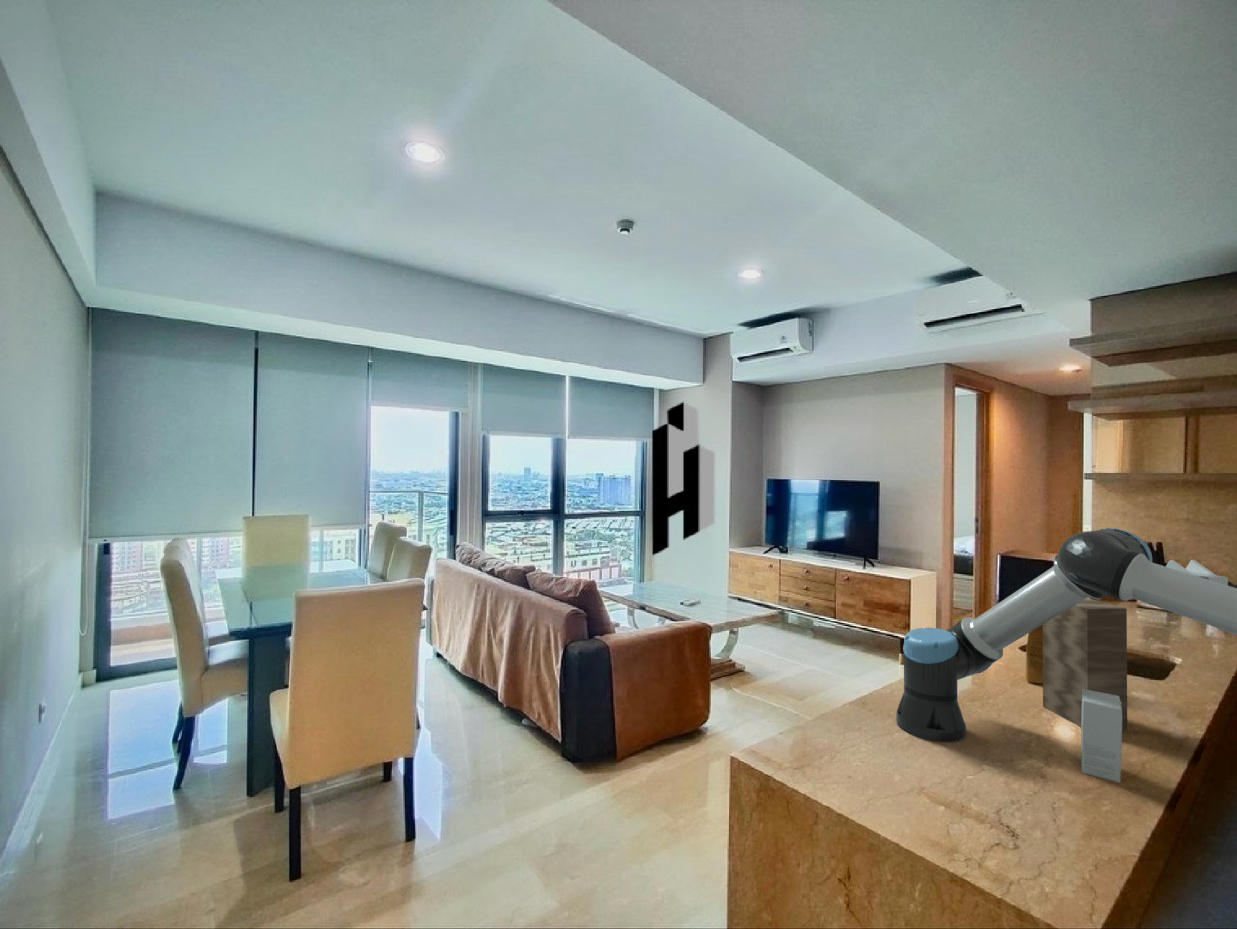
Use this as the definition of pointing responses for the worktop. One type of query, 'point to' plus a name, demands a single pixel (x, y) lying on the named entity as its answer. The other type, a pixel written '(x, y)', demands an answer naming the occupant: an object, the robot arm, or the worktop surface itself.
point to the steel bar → (1212, 577)
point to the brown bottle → (1035, 656)
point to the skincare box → (1101, 735)
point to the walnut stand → (1084, 657)
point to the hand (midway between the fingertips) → (1179, 565)
